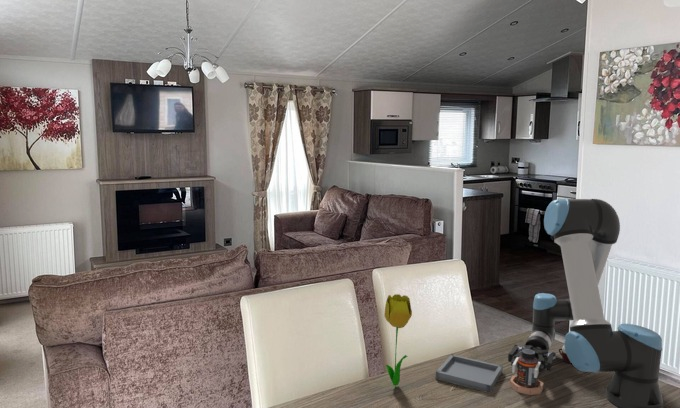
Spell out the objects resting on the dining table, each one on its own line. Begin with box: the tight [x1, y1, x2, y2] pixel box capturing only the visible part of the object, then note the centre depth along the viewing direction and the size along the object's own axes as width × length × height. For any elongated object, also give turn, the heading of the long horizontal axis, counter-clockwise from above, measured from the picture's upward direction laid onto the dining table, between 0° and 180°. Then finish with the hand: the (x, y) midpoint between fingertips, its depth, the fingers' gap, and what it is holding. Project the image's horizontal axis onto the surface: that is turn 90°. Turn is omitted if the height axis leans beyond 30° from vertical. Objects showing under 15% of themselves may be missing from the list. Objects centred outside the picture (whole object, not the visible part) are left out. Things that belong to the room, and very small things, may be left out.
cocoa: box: [558, 345, 571, 364], centre depth 185 cm, size 10×6×12 cm, turn 13°
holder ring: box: [509, 374, 544, 396], centre depth 167 cm, size 10×10×2 cm
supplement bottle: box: [516, 349, 538, 388], centre depth 166 cm, size 6×6×11 cm
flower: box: [384, 293, 413, 388], centre depth 164 cm, size 9×8×30 cm
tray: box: [435, 353, 504, 394], centre depth 174 cm, size 18×16×2 cm
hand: (524, 371), depth 162 cm, fingers closed on supplement bottle, 6 cm apart
